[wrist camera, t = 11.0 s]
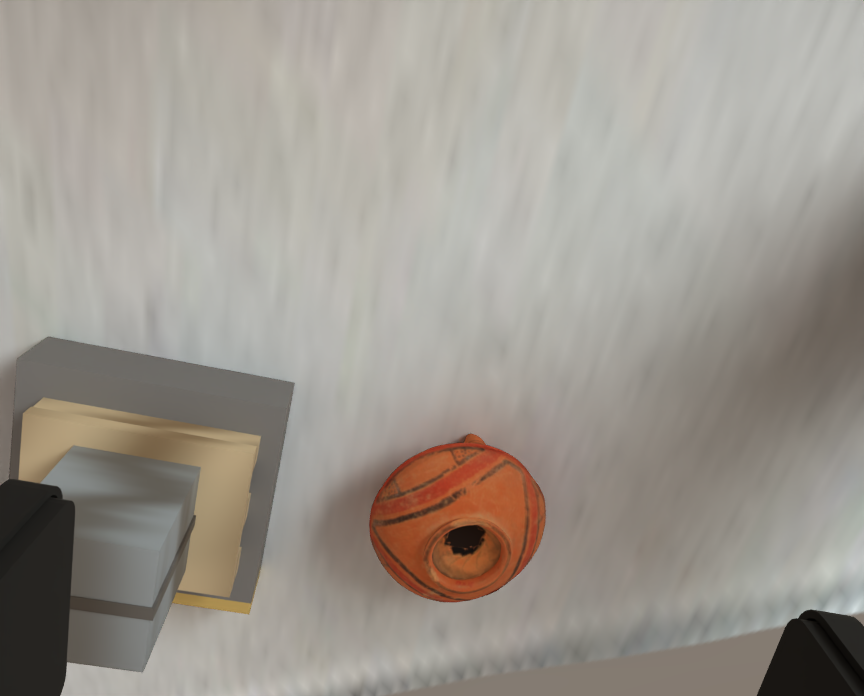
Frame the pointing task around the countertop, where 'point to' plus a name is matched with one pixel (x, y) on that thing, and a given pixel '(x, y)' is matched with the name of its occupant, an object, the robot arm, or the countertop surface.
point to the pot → (457, 521)
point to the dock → (174, 400)
